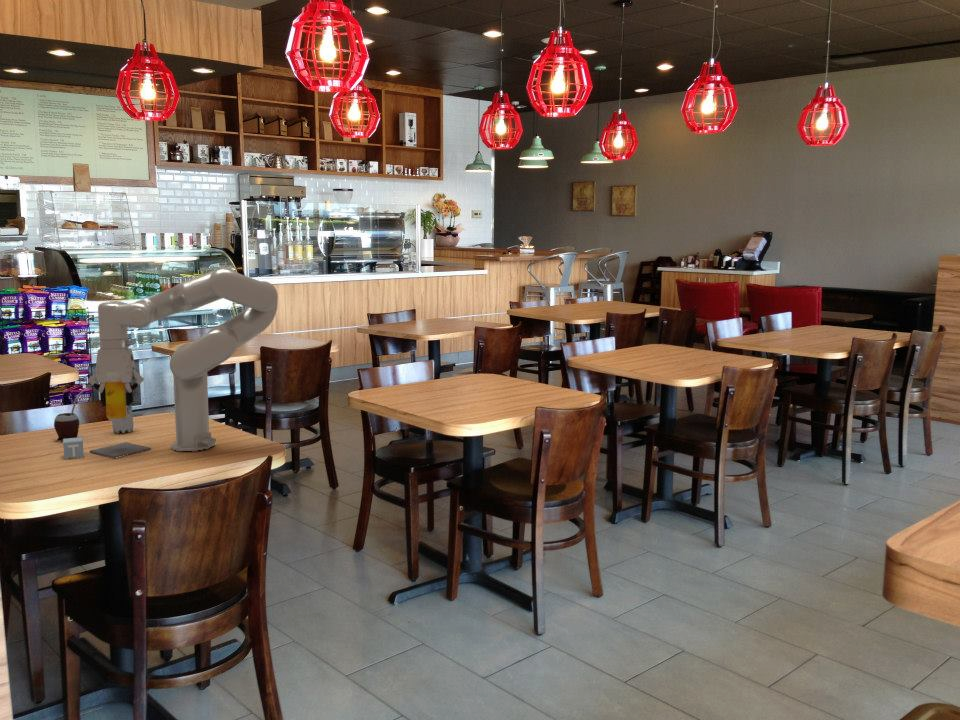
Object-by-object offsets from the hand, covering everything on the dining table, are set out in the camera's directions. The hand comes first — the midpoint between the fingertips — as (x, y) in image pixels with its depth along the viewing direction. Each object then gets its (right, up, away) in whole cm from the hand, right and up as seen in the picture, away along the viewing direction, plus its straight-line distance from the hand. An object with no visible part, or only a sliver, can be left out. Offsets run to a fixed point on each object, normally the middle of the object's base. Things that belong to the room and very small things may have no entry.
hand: (117, 404), depth 238 cm
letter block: (-11, -15, -4) cm, 19 cm away
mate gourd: (-22, -12, +16) cm, 30 cm away
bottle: (-9, -11, +25) cm, 29 cm away
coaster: (0, -14, +2) cm, 14 cm away
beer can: (0, -4, +1) cm, 5 cm away
